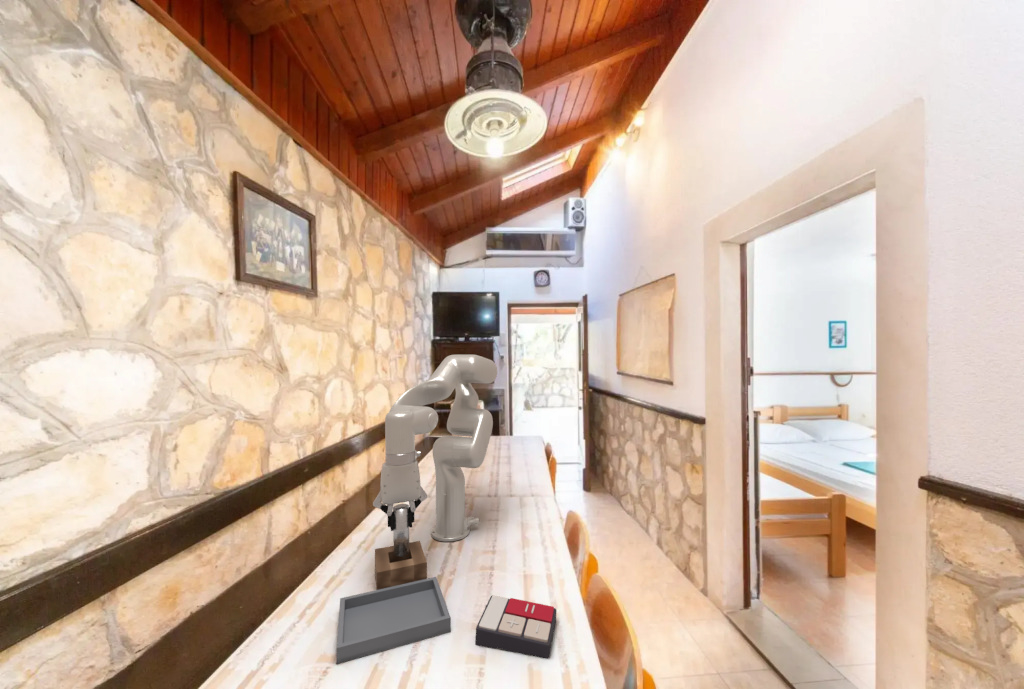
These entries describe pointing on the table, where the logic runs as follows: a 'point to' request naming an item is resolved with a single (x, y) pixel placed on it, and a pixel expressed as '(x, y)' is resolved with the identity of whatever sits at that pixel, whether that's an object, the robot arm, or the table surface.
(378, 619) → the tray
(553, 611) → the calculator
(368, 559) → the table surface
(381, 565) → the block
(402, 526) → the pin
